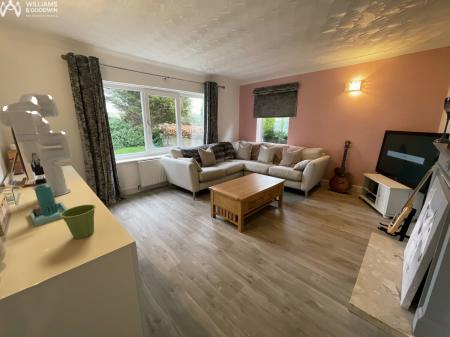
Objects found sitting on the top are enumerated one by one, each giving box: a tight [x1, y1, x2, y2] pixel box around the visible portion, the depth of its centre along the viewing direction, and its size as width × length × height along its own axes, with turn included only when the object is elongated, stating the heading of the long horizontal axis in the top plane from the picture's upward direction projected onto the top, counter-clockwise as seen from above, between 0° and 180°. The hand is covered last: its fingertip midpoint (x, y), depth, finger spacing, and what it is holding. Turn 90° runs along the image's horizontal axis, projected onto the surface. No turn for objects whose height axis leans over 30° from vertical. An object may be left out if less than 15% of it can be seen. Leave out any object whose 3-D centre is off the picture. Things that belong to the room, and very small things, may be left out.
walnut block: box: [32, 205, 42, 216], centre depth 100 cm, size 4×4×4 cm
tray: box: [29, 201, 68, 227], centre depth 99 cm, size 19×13×3 cm
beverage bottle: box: [33, 177, 58, 216], centre depth 96 cm, size 6×7×20 cm
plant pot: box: [60, 204, 97, 240], centre depth 80 cm, size 12×12×11 cm
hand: (38, 173), depth 93 cm, fingers open, 9 cm apart
